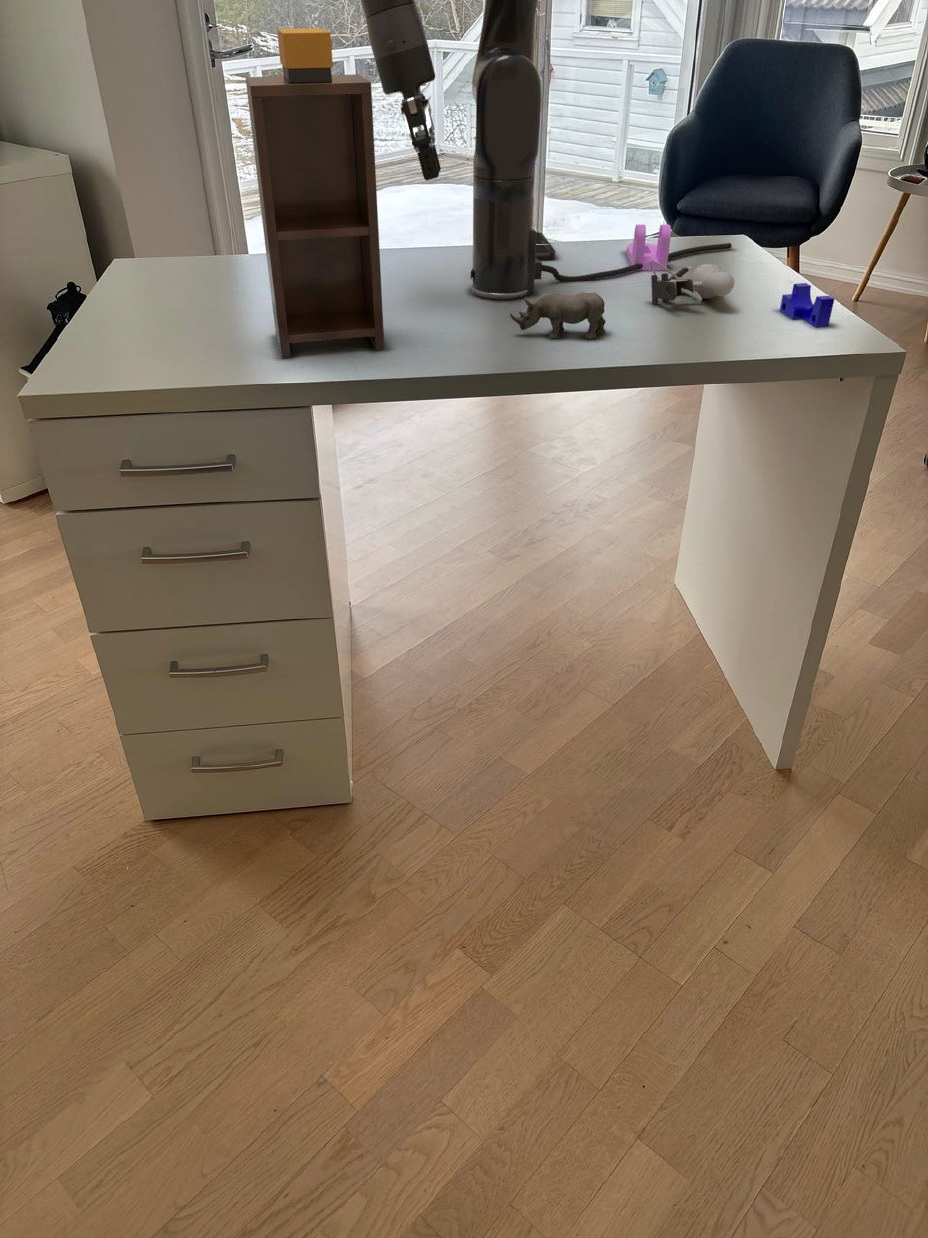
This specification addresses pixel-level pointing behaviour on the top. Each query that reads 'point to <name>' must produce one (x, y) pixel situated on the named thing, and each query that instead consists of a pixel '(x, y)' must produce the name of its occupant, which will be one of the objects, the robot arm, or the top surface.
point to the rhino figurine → (564, 312)
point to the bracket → (649, 248)
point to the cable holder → (807, 306)
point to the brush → (305, 55)
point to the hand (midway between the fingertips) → (433, 175)
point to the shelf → (318, 207)
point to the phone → (543, 248)
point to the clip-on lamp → (691, 283)
